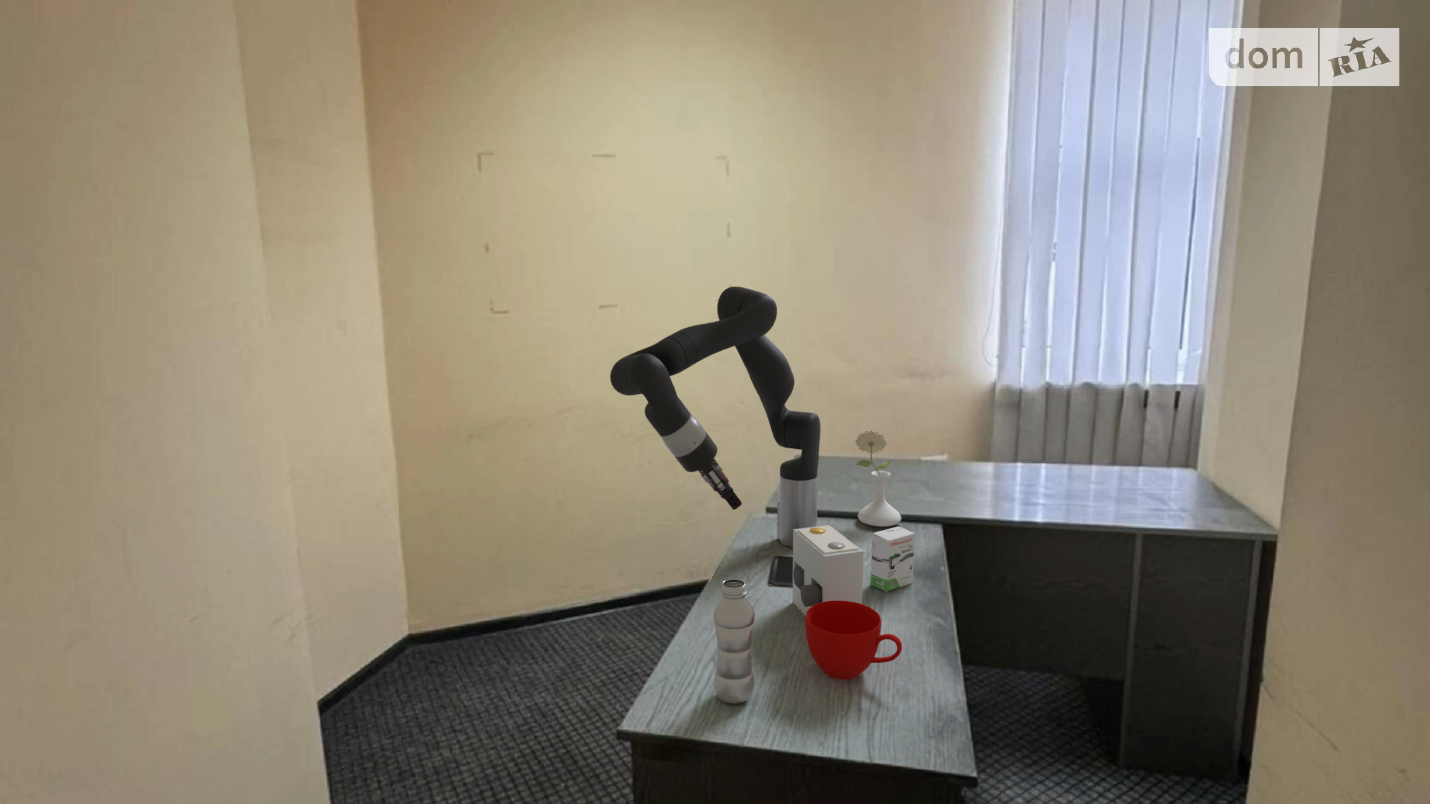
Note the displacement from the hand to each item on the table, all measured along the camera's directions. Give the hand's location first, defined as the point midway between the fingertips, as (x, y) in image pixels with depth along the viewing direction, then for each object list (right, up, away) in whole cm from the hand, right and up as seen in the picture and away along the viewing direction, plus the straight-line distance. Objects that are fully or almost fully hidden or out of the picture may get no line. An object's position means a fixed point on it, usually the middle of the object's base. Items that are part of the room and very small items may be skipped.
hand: (737, 505), depth 151 cm
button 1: (+14, -17, +6) cm, 23 cm away
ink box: (+34, -20, +18) cm, 43 cm away
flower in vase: (+39, -12, +56) cm, 69 cm away
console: (+19, -22, +4) cm, 29 cm away
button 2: (+15, -19, -3) cm, 24 cm away
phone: (+12, -19, +24) cm, 33 cm away
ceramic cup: (+19, -27, -18) cm, 38 cm away
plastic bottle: (-1, -28, -25) cm, 38 cm away
